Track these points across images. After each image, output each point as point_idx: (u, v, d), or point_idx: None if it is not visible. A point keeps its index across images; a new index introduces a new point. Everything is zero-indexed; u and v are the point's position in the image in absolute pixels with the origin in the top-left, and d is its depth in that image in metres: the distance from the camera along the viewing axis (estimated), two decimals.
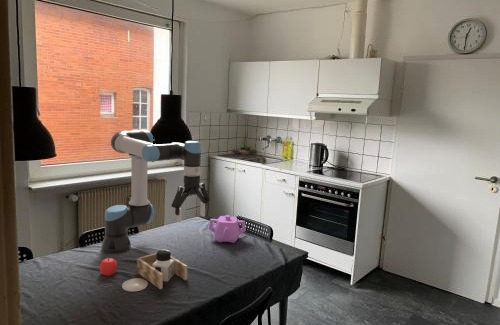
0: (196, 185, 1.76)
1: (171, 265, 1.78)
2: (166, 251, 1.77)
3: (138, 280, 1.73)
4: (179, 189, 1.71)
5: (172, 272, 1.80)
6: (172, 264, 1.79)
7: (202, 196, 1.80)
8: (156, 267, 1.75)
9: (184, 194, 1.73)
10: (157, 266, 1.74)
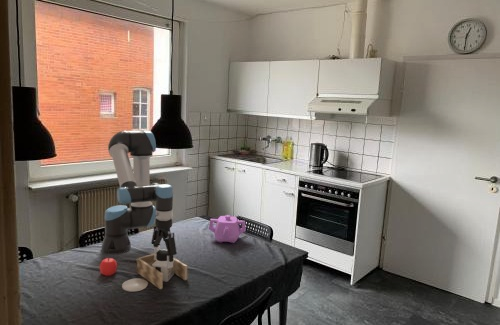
0: (164, 230, 1.73)
1: None
2: (166, 251, 1.77)
3: (138, 280, 1.73)
4: None
5: (172, 272, 1.80)
6: None
7: (167, 246, 1.72)
8: (156, 267, 1.75)
9: None
10: (157, 266, 1.74)
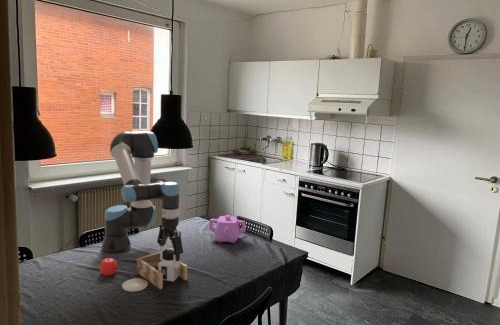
0: (170, 229, 1.69)
1: None
2: (172, 250, 1.73)
3: (138, 280, 1.73)
4: None
5: (178, 272, 1.76)
6: None
7: (173, 245, 1.68)
8: (162, 266, 1.71)
9: None
10: (163, 265, 1.70)
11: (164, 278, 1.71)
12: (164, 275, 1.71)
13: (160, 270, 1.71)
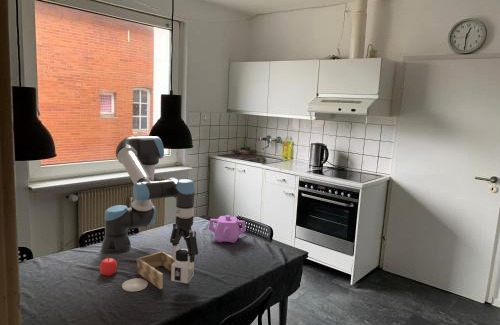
0: (185, 228, 1.61)
1: None
2: (186, 251, 1.65)
3: (138, 280, 1.73)
4: None
5: (192, 273, 1.68)
6: None
7: (188, 245, 1.60)
8: (176, 268, 1.63)
9: None
10: (177, 267, 1.63)
11: (177, 280, 1.64)
12: (177, 277, 1.64)
13: (173, 271, 1.64)
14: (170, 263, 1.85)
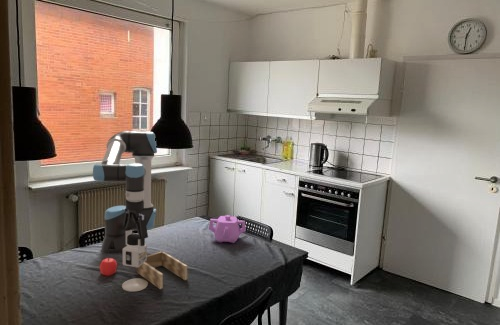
0: (135, 212, 1.62)
1: None
2: (137, 235, 1.66)
3: (138, 280, 1.73)
4: None
5: (144, 258, 1.69)
6: None
7: (138, 229, 1.61)
8: (126, 252, 1.64)
9: None
10: (128, 251, 1.63)
11: (129, 264, 1.64)
12: (128, 261, 1.64)
13: (124, 255, 1.64)
14: (170, 263, 1.85)
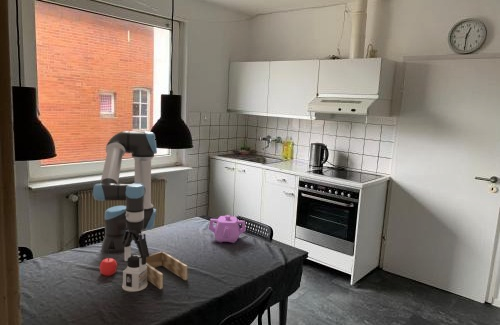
0: (134, 232, 1.63)
1: (143, 272, 1.68)
2: (138, 257, 1.67)
3: None
4: None
5: (144, 279, 1.70)
6: (144, 271, 1.69)
7: (138, 248, 1.62)
8: (127, 274, 1.65)
9: None
10: (128, 273, 1.65)
11: (129, 286, 1.66)
12: (129, 283, 1.66)
13: (125, 277, 1.66)
14: (170, 263, 1.85)
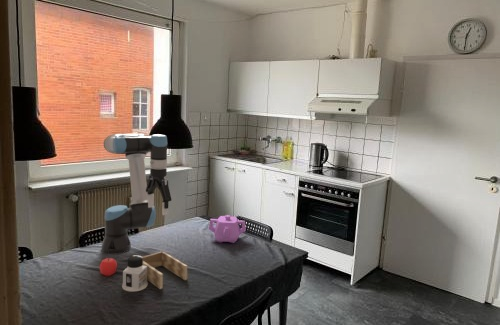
0: (158, 179, 1.77)
1: (143, 272, 1.68)
2: (138, 257, 1.67)
3: None
4: None
5: (144, 279, 1.70)
6: (144, 271, 1.69)
7: (161, 193, 1.76)
8: (127, 274, 1.65)
9: None
10: (128, 273, 1.65)
11: (129, 286, 1.66)
12: (129, 283, 1.66)
13: (125, 278, 1.66)
14: (170, 263, 1.85)
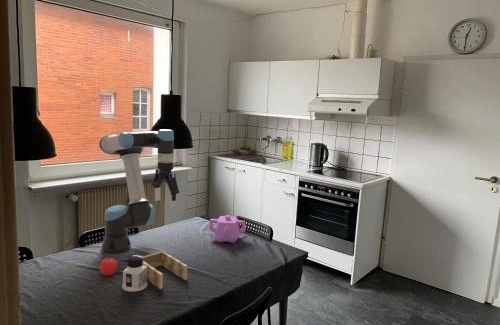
0: (165, 172, 1.83)
1: (143, 272, 1.68)
2: (138, 257, 1.67)
3: None
4: None
5: (144, 279, 1.70)
6: (144, 271, 1.69)
7: (169, 186, 1.81)
8: (127, 274, 1.65)
9: None
10: (128, 273, 1.65)
11: (129, 286, 1.66)
12: (129, 283, 1.66)
13: (125, 278, 1.66)
14: (170, 263, 1.85)
